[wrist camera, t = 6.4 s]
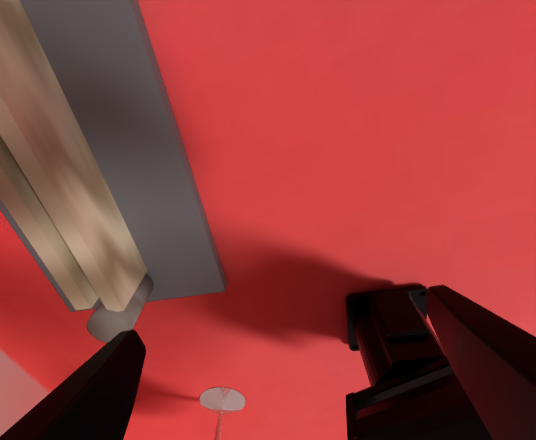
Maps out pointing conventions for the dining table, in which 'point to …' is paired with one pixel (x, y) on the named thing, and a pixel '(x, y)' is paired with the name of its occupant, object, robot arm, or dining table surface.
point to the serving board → (129, 139)
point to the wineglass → (222, 403)
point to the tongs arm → (42, 232)
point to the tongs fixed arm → (67, 176)
